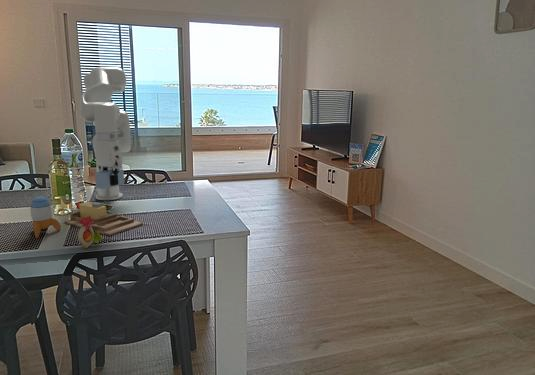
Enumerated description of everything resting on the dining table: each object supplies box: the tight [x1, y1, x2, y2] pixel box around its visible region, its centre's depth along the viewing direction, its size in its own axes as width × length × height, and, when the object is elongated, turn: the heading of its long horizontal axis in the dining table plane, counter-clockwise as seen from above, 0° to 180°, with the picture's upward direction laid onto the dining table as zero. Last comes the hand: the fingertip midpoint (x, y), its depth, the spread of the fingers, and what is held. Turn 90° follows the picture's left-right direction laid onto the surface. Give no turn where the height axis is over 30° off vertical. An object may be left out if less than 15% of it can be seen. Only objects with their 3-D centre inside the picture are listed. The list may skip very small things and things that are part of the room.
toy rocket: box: [29, 196, 62, 239], centre depth 159 cm, size 10×11×15 cm
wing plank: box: [94, 168, 125, 189], centre depth 163 cm, size 4×10×6 cm, turn 148°
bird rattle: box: [77, 216, 104, 249], centre depth 147 cm, size 6×11×9 cm
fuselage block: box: [78, 201, 108, 220], centre depth 173 cm, size 12×4×7 cm, turn 58°
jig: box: [63, 210, 144, 237], centre depth 171 cm, size 28×16×3 cm, turn 58°
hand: (110, 183), depth 164 cm, fingers closed on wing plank, 4 cm apart
